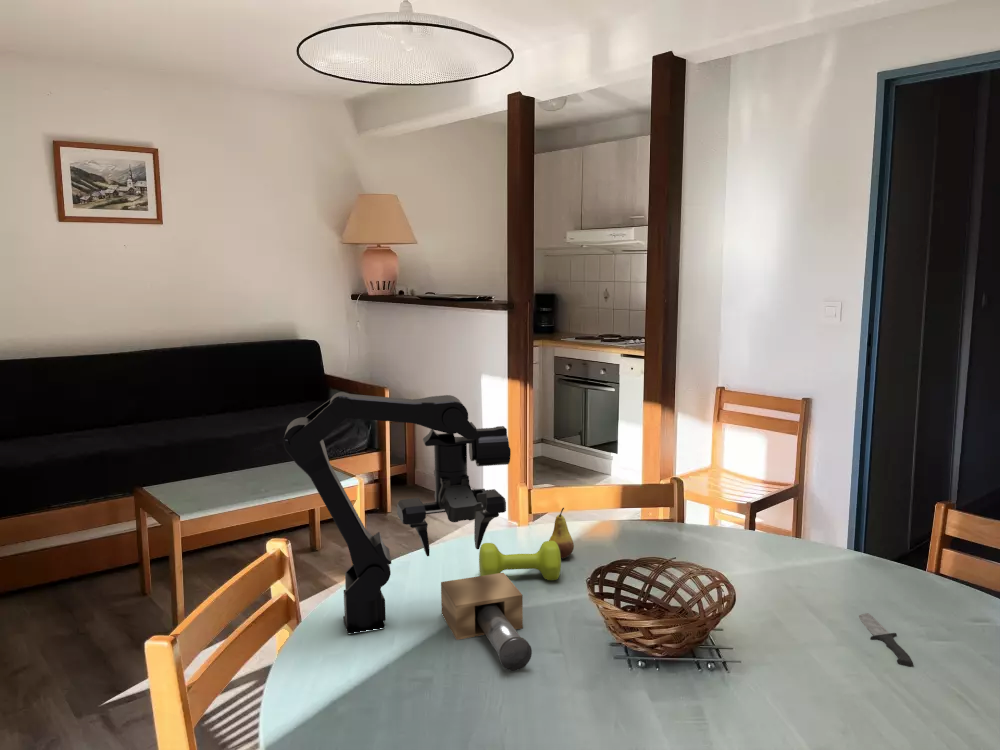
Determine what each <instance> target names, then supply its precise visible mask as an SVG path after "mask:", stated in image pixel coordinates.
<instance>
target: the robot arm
mask: <svg viewBox="0 0 1000 750" xmlns="http://www.w3.org/2000/svg"><path fill="white" fill-rule="evenodd" d="M346 419H353V420H367V421H380V422H381V421H382V422H392V423H407V424H415V425H419V426H421V427H423V428H426V429H429V430H430V431H429V433H428V434H427V435H426V436H423V438H422V442H423V443H424V446H426V447H433V449H434V450H433V453H434V454H433V455H434V470H433V477H434V486H435V487H434V491H435V492H434V496H433V497H434V499H435V500H434V501H435V502H434V501H433V502H424V503H423V502H422V500H421V499H420V497H413V498H405V499H399V501H398V502H397V504H396V515H397V517H398V518H399V520H400V522H401V523H402V524H403V525H408V526H409V527H410V528H412V529H414V528H415V531H416V533H417V535H418V538H419V541H420V544H421V546H422V548H423V550H424V553H425V555H426V556H427V557H430V543H429V535H428V524H429V523H428V522H427V521H426V518H427V515H430V514H431V515H432V514H440V513H446V516H447V519H448V521H449V522H450V523H459V522H462V521H463V522H464V521H470V522H471V521H474V526H473V527H474V529H473V531H474V547H475V549H476V550H480V548H481V545H482V541H483V539H484V535H485V534H486V531H487V529H488V527H489V524H490V522H491V521H492V520H493V519H494V518H499V516H500V514H501V513H506V511H507V502H506V498H505V497H504V496H503V495H502V494H500V492H498V491H497V490H496V489H495V488H494V489H485V488H476V489H475V488H473V489H472V487H471V485H470V478H469V477H470V476H469V475H468V454H469V460H470V462H475V465H476V467H490V466H502V465H503V466H504V465H509V464H510V462H511V447H510V442H509V437H508V429H507V428H506V427H505V426H504V425H500V426H494V427H485V428H484V427H483V428H482V427H481V428H477V427H476V425H475V424H474V423H473V422H472V421H471V422H470V421H469V412H468V409H467V407H466V406H465V405H464V404H463V403H462V401H460V399H459V398H458V397H456V396H455V395H451V394H449V395H448V394H445V395H434V396H427V397H421V398H413V399H412V398H400V397H390V396H389V397H388V396H377V395H367V394H366V395H365V394H364V395H363V394H353V393H352V394H351V393H348V392H344V391H339V392H337V393H334V395H332V397H331V398H330V399H328V400H327V401H326V402H323V404H322V405H319V406H318V407H317V408H315V409H314V410H313V411H311V412H310V413H309V414H308V415H306V416H305V417H304V416H303V417H302V416H301V417H298V418H295V419H293V420H291V421H290V423H289V424H288V425H287V427H286V430H285V433H284V437H283V442H282V443H283V449H284V450H285V452H286V453H287V454H288V456H289V457H290V458H291V459H292V460H293V461H294V463H295V464H296V465H297V466H298V467H299V468H300V469H301V470H302V471H303V472H304V473H305V474H306V475H307V476H308V477H309V479H310V480H311V482H312V483H313V485H314V487H315V489H316V491H317V492H318V494H319V496H320V498H321V500H322V501H323V503H324V506H325V507H326V509H327V511H328V512H329V515H330V516H331V518H332V520H333V522H334V524H335V525H336V527H337V529H338V530H339V532H340V534H341V536H342V538H343V540H344V541H345V543H346V546H347V549H348V553H349V556H350V559H351V563H352V565H350V567H349V568H348V569H347V570H346V571H345V572H344V579H345V580H344V582H345V585H344V586H345V589H344V590H343V606H344V607H343V611H344V615H343V617H342V619H343V623H345V624H344V625H345V626H346V627H345V630H346V629H347V630H346V633H347V634H348V633H354V632H360V631H366V630H373V629H379V630H381V629H380V628H384V627H386V624H385V621H386V617H387V615H386V598H385V596H384V594H383V593H382V589H381V588H382V587H383V586H385V585H386V584H387V583H388V582H389V580H390V577H391V573H392V572H391V564H392V559H391V558H392V557H391V552H390V548H389V546H387V545H386V544H385V543H384V540H383V538H382V535H381V532H380V531H378V532H376V533H375V534H373V535H372V534H371V533H370V532H369V531H368V529H366V526H365V525H364V523H363V521H362V519H361V518H360V516H359V514H358V512H357V510H356V508H355V506H354V505H353V503H352V501H351V499H350V497H349V496H348V494H347V492H346V490H345V488H344V487H343V485H342V483H341V481H340V478H338V476H337V474H336V472H335V470H334V468H333V466H332V465H331V463H330V459H329V457H328V452H327V448H326V445H325V442H324V439H325V438H326V437H327V436H329V435H330V434H331V432H333V431H334V430H335V429H336V428H337V427H339V425H340V424H341V423H343V422H344V421H345V420H346ZM436 431H437V432H439V433H437V432H436ZM440 432H441V433H440ZM455 434H458V435H460V436H455ZM467 445H468V446H467ZM384 629H385V628H384ZM373 631H374V630H373Z"/></svg>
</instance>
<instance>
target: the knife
mask: <svg viewBox="0 0 1000 750" xmlns="http://www.w3.org/2000/svg"><path fill="white" fill-rule="evenodd" d="M858 617H859V618H858V619H859V621H860V622H861V624H862V625H863V626H864V627H865V628H866V629H867V630H868V632H870V633H871V634H872V636H870V637H869V638H870V639H869V640H871V641H881V642H882V643H884V644H885V645H886V647H887V648H888V649H890V650H891V652H893V653H894V654H895V656H897V659H896V662H897V664H898V665H901V666H907V667H911V666H913V665H914V662H913V660H912V657H911V656H910V655H909V654H908V652H906V651H905V649H903V647H901V646H900V645H899V644H898V643H897V641H896V640H895V637H897V635H898V634H897V633H896V632H892V633H890V632H889V631H888V630H887V629H886V628H885V627H884V626H883V625H882V624H881V623H880V621H878V620H877V619H876V618H874V616H873V615H872V614H871V613H867V612H865V613H862V614H858Z"/></svg>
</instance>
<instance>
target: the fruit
mask: <svg viewBox="0 0 1000 750" xmlns="http://www.w3.org/2000/svg"><path fill="white" fill-rule="evenodd" d="M564 510H565V507H562V508H561V510H560V513H559V514H558V515H557V516H556V517H555V520H554V524H553V525H554V527H553V531H552V534H551V536H550V537H549V539H548V541H555V542H556V543H557V545H558V547H559V550H560V555H561V558H562V559H565V558H568V557H569V556H570V555H571V554H572V553H573V552H574V548H575V544H574V540H573V538H572V536H571V533H570V531H569V528H568V524H567V520H566V518H565V516H564V515H563V514H562V513H563V511H564Z"/></svg>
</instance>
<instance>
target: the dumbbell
mask: <svg viewBox="0 0 1000 750" xmlns="http://www.w3.org/2000/svg"><path fill="white" fill-rule="evenodd" d="M478 557H479V558H478V569H479V570H478V571H479V574H480V575H479V576H484V575H491V574H498V573H503V571H507V570H509V571H510V570H531V569H533V570H534V569H535V570H537V571H539V572H540V573H541V576H542V577H543V578H544V579H545V580H546V579H547V580H546V581H557V580H558V579H559V577H560V575H561V568H562V559H561V555H560V550H559V547H558V545H557V543H556V542H555V541H549V540H546V541H543V542H542V543H541V545H540V547H539V549H538V550H537V552H535V553H513V554H504V553H502V552H501V551H500V550H499V549H498V547H497V545H496V544H495V543H493V542H484V543H481V545H480V548H479V553H478Z"/></svg>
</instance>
